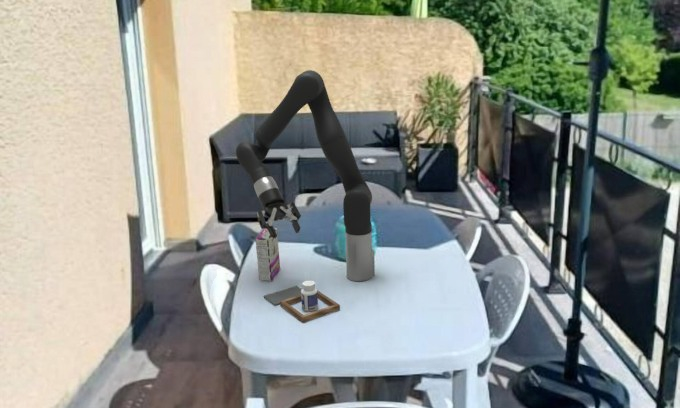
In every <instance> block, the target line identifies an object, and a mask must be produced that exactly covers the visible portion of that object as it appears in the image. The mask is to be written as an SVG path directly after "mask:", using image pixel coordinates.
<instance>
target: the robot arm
mask: <svg viewBox="0 0 680 408" xmlns="http://www.w3.org/2000/svg"><path fill="white" fill-rule="evenodd" d="M306 105H307V106H308V108H309V110H310V112H311V116H312V118H313V122H314V130H315V133H316V136H317V140H318V143H319V145H320V148H321V150H322V153H323V155H324V157H325V158H326V160H327V162H328V163H329V165H330V166H331V167H332V168H333V170H334V171H335V172H336V174H337V175H338V177H339V179H340V181H341V184H342V186H343V190H344V192H345V195H344V197H343V202H342V204H343V205H342V206H343V209H342V210H343V224H344V228H345V229H344V231H345V234H344V235H345V254H346V255H345V263H346V264H345V266H346V267H345V269H346V277H347V279H348V280H350V281H354V282H364V281H368V280H370V279H372V277H373V276H374V277H375V274H376V273H375V272H376V271H375V267H376V266H375V262H376V261H375V250H374V249H373V240H372V239H373V234H372V233H373V231H372V229H373V227H372V219H371V218H372V217H371V204H372V201H373V195H372V191H371V189H370V188H369V186H368V184H367V182H366V180H365V179H364V177H363V175H362V173H361V171H360V168H359V167H358V164H357V161H356V158H355V156H354V153H353V151H352V148H351V145H350V143H349V141H348V140H349V139H348V138H347V135H346V134H345V131H344V129H343V127H342V125H341V123H340V120H339V119H338V116H337V114H336V112H335V110H334V108H333V106H332V104H331V100H330V97H329V94H328V91H327V88H326V85H325V82H324V78H323V77H322V76H321V74H319V72H317V71H314V70H312V69H307V70H305V71H303V72H301V73H300V74H298V75H297V76H296V77H295V79H294V80H293V83H292V84H291V86H290V88H289V90H288V92H287V93H286V95H285V96H284V98H283V99H282V100H281V101H280V103H279V104H278V105H277V106H276V108H275V109H274V110H273V111H272V112H271V113H270V114H269V115H268V116H267V118H266V119H264V121H263V122H262V123H261V124H260V125H259V126H258V128H257V129H256V130H255V132H254V137H255V139H256V141H255V142H254V143H253V142H249V141H242V142H240V143H239V144H238V145H236V150H235V156H236V158H237V161H238V163H239V164H240V166H241V167H242V169H244V171H245V172H246V173H247V175H248V176H249V178H250V180H251V183H252V185H253V187H254V191H255V194H256V196H257V198H258V200H259V203H260V205H261V207H262V209H263V210H261V209H258V210H257V212H256V214H255V215H256V218H257V221H258V223H259V226H260V229H261V230H263V229H264V228H266V229H268V231H269V233H270V236H271V237H273V239H275V238H276V237H277V235H278V232H277V233H276V231H275V229H274V228H275V227H274V225H273V223H274V222H278V221H281V220H285V221H288V222H289V223H291V225H292V228H293V229H294V232H295V234H298V233H300V230H301V226H300V223H299V220H300V219H301V217H302V215H301V213H300V212H299V211H300V210H298V208H297V205H296V203H295V202H291V203H290V204H286V203H285V200H284V197H283V195H282V193H281V191H280V189H279V186H278V184H277V182H276V181H275V179H274V178H273V175H272V173H271V171H270V169H269V167H268V166H267V165H266V164H265V163H263V161H264V160H265V159H266V157H267V156H268V154H269V152H270V149H271V147H272V145H273V144H274V143H275V141H276V140H277V139H278V138H279V137H280V136H281V134H282V133H283V132H284V131H285V129H286V128H287V126H288V125H289V123H290V122H291V120H292V119H293V118H294V117H295V116H296V114H297V113H299V111H300V110H302V109H303V108H304V107H305V106H306ZM265 216H266V217H267V218H268V219H267V222H266V219H265Z"/></svg>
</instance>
